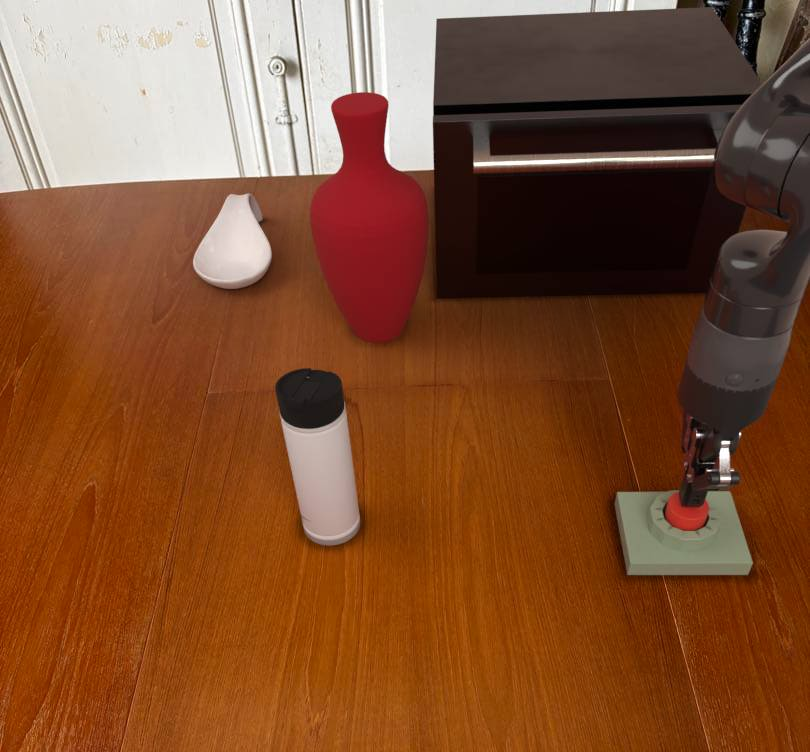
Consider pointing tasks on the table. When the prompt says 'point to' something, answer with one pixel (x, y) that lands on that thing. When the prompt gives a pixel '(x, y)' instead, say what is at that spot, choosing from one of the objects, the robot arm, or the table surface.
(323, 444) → the travel mug
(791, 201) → the robot arm
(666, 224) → the oven door
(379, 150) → the vase
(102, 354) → the table surface
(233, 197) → the spoon rest
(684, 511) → the button
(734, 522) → the timer box
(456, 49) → the oven
